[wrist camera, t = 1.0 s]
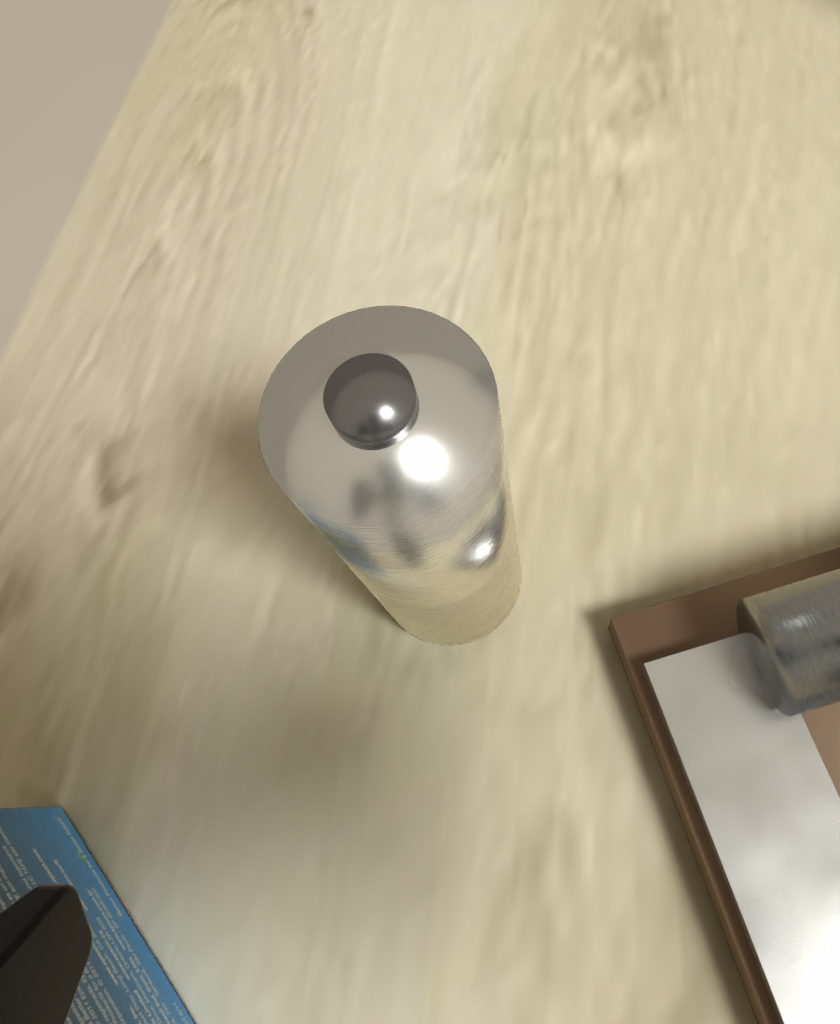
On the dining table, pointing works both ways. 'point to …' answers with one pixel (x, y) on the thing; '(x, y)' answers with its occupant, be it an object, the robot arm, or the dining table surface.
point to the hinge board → (638, 643)
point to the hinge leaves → (768, 782)
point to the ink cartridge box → (115, 940)
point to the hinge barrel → (400, 465)
